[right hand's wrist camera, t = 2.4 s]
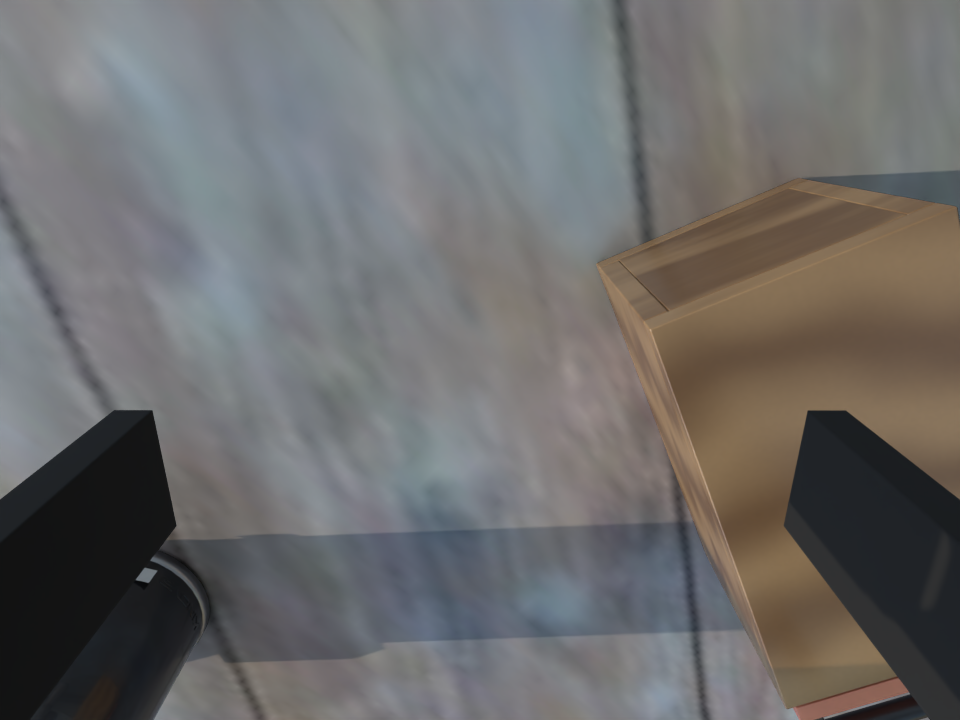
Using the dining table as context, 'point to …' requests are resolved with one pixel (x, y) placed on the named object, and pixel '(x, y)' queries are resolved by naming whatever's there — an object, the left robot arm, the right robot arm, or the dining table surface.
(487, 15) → the dining table surface
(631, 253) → the cabinet
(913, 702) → the drawer
